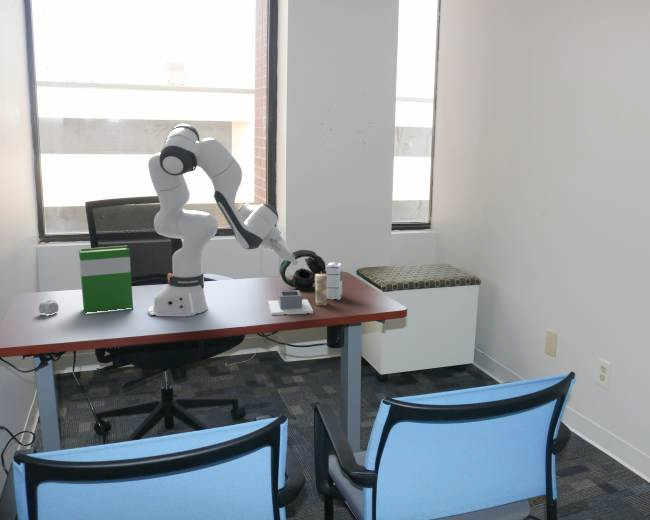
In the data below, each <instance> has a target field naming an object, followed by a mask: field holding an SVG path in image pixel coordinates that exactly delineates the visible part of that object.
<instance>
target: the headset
mask: <svg viewBox="0 0 650 520" xmlns="http://www.w3.org/2000/svg"><path fill="white" fill-rule="evenodd" d="M292 254H293V255H294V256H295V259H296V260H297V259H301V258H304V257H305V258H304V261H305V264H306V266H307V267H308V269H306V268H301V267H300V268H298V269H297V270H295V271H294V274H293V277H292V278H288V277H287V276H286V273H287V272H286V271H287V268H288V267H290V265H291V264H292V263H291V262H290V261H288V260H287V261H285V260H283V259H282V262H281V264H280V265H279V274H280V276H281V279H282V281H283V282H284V284H286V285H288V286H290V287H291V288H295V289H297V290H299V291H308V290H310V289H312V288H313V286H314V284H315V274H326V262H325V261H324V259H323V258H322V257H321V256H320V255H317V253H316V252H315V251H312V250H308V249H299V250H296V251H293V252H292ZM306 257H307V258H306Z"/></svg>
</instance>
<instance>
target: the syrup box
mask: <svg viewBox="0 0 650 520" xmlns="http://www.w3.org/2000/svg"><path fill="white" fill-rule="evenodd" d="M325 267H326V276H327V300H334V299H337V300H341V299H342V297H343V263H342V262H329V263H328V264H327V265H325ZM337 300H336V301H337Z"/></svg>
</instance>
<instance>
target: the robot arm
mask: <svg viewBox="0 0 650 520" xmlns="http://www.w3.org/2000/svg"><path fill="white" fill-rule="evenodd" d="M147 165H148V172H149V176H150V180H151V183H152V184H153V188H154V190H155V193H156V195H157V198H158V201H159V205H160V206H159V207H160V208H159V211H158V212H157V213H156V214H155V216H154V219H153V227H154V231H155V232H156V233H157V234H158V235H160V236H163V237H165V238H166V237H167V238H168V239H169V238H171V239H181V240H182V239H183V243H182V244H183V245H182V247H181V248H179V249H177V250H176V251H175V252H174V253H173V254H172V256H171V257H172V258H171V259H172V273H171V272H169V273H168V274H167V276H166V277H167V285H165V286H164V287H163V288H161V289H160V291H158V292H157V293H156V295H155V297H154V300H153V304H151V305H150V306H149V307H148V311H147V313H148V312H149V314H151V315H156V316H155V317H187V316H188V317H192V316H194V315H196V314H197V313H198V314H200V313H204V312H206V311H207V310H208V309H209V306H208V304H207V301H206V296H205V291H204V290H205V289H204V288H205V276H204V273H203V253H204V249H205V247H206V246H207V244H208V243H209V241H211V239H213V238H215V235H216V234H217V232H218V228H219V227H218V226H219V224H218V221H217V218H216V216H215V215H214V214H212V213H210V212H207V211H202V210H191V209H190V210H189V209H185V208H184V206H185V205H186V204H187V203H188V202H189V200H190V197H191V196H190V195H191V193H190V190H189V189H188V185H187V183H186V180H185V176H184V175H185V174H187V173H189V172H194V171H195V170H196V168H197V167H199V168H201V169H202V171H204V173H205V174H206V176H208V178H209V180H210V181H211V183H212V186H213V189H214V194H213V198H214V200H215V202H216V205H217V206H218V208H219V209H220V212H221V213H222V215H223V217H224V218H225V220H226V222H227V223H228V226H229V227H230V229H231V230H232V232H233V235H234V238H235V240H236V242H237V243H238V245H240V246H241V247H242V248H244V249H246V250H256V249H258V248H259V247H260V245H261V246H262V247H263V248H264V249H271V250H273V251H274V252H275V253H276V255H278V256H279V257H280V258H281V259H282V261H283V260H285V261H287V260H288V261H290V262H291V264H292V265H293V266H297V265H298V263H299V262H298V260H297V259H295V256H294V255H293V254H292V253H293V252H292V251H291V249H290V247H289V246H288V243H287V242H286V241H285V240H284V239H283V237H282V236H281V234H282V232H281V230H279V229H278V228H277V227H276V226H275V225H277V223H278V221H279V214H278V211H277V209H275V207H273V206H272V205H271V204H269V203H260V204H258V205H253V204H251V203H249V202H246V203H243V205H242V206H241V207H240V208H239V210H237V208H236V204H235V202H236V196H237V193H238V190H239V187H241V182H242V178H243V171H242V168H241V166H240V164H239V162H238V161H237V159H235V157H234V155H232V154H231V152H230V151H229V150H228V149H227V148H226V147H225V146H224V145H223V144H222V143H221V142H219V141H218V139H216V138H213V137H207V138H203V139H202V140H200V134H199V131H198V130H197V129H196V128H195V127H194V126H193V125H190V124H187V123H180V124H178V125H175V126H174V127H173V128H172V129H171V131H170V133H168V136H167V137H166V139H165V141H164V143H163V146H162V149H161V151H160V152H158V153H155V154H154V155H152V156H150V158H149V160H148V164H147ZM149 314H148V315H149ZM151 315H150V316H151Z"/></svg>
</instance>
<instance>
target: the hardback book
mask: <svg viewBox="0 0 650 520" xmlns="http://www.w3.org/2000/svg"><path fill="white" fill-rule="evenodd" d="M130 252H131V251H130V248H128V245H115V246H104V247H88V248H78V260H79V268H80V270H79V271H80V282H81V284H80V285H81V293H82V295H81V296H82V307H83V308H84V309H83V308H82V309H83V313H84V312H85V313H87V312H97V311H108V310H117V309H126V308H133V309H134V304H133V299H134V298H133V284H132V273H131V270H132V269H131V255H130ZM85 313H84V314H85Z"/></svg>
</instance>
